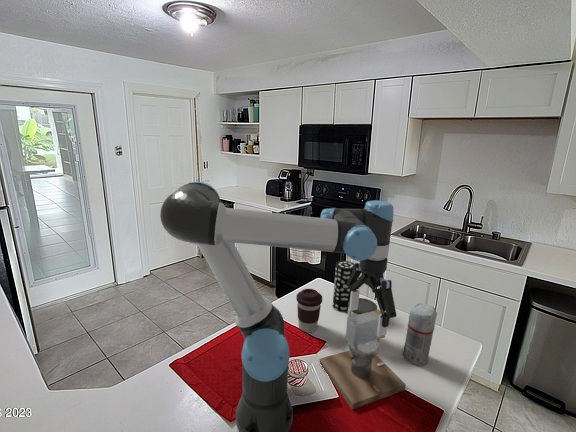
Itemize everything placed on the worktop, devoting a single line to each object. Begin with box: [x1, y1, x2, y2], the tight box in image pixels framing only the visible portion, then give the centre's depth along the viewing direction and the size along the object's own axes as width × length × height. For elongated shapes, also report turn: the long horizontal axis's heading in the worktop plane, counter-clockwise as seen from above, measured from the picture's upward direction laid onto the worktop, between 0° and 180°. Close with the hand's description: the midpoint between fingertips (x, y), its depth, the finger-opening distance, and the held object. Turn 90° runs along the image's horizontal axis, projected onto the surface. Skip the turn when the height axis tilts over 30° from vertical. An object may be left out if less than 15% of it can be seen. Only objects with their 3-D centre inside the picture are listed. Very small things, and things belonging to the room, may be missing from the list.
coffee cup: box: [295, 288, 323, 333], centre depth 122 cm, size 10×10×15 cm
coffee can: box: [344, 297, 378, 343], centre depth 117 cm, size 10×10×14 cm
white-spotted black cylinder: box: [332, 260, 355, 313], centre depth 137 cm, size 8×8×20 cm
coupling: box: [345, 309, 386, 359], centre depth 96 cm, size 12×9×11 cm
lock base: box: [318, 349, 407, 410], centre depth 99 cm, size 19×19×10 cm
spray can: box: [402, 302, 438, 367], centre depth 106 cm, size 8×8×20 cm
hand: (366, 321), depth 95 cm, fingers open, 13 cm apart
